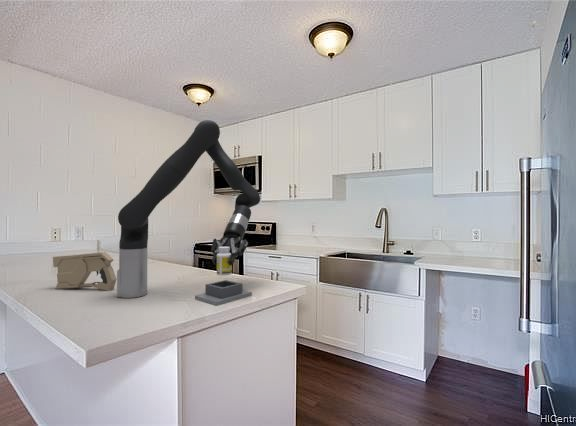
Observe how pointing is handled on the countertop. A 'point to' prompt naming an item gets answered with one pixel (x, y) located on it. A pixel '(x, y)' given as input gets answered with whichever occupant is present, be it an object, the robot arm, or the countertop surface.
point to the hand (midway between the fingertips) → (221, 263)
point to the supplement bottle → (223, 261)
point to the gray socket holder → (222, 292)
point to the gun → (84, 270)
